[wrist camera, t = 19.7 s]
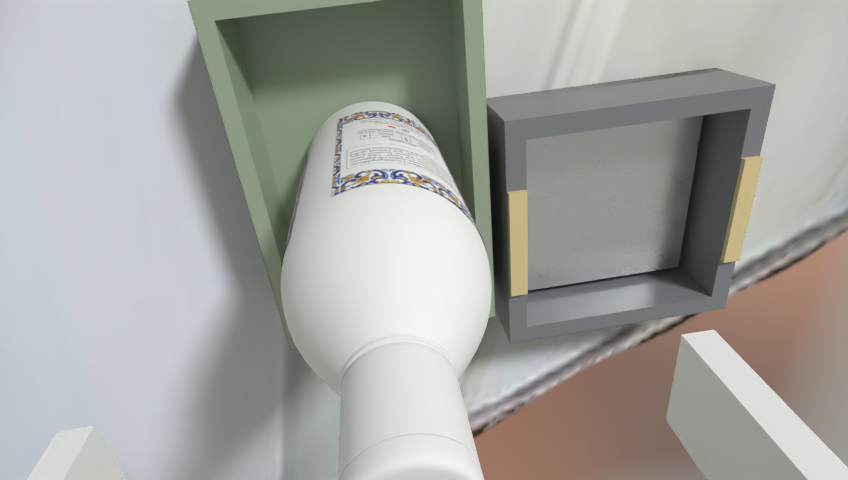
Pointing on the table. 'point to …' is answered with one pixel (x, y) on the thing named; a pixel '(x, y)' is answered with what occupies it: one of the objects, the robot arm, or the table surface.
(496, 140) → the gray square tray
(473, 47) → the green tray
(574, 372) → the table surface
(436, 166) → the bath foam
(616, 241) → the plate
